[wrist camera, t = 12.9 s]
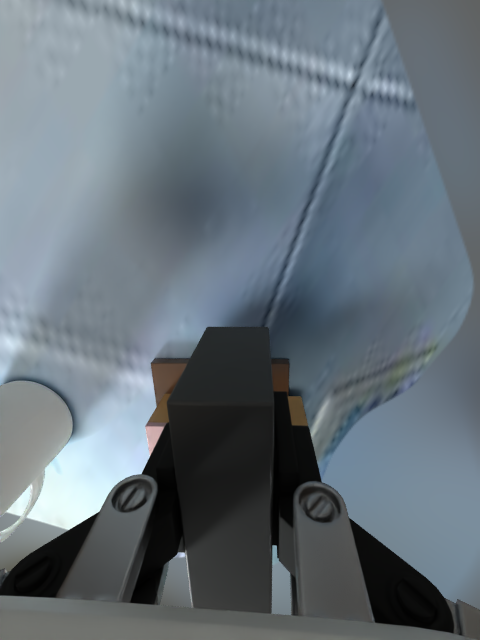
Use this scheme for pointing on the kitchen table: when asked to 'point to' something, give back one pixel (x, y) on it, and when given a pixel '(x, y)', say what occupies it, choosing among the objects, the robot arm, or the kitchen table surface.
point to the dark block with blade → (226, 468)
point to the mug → (28, 441)
